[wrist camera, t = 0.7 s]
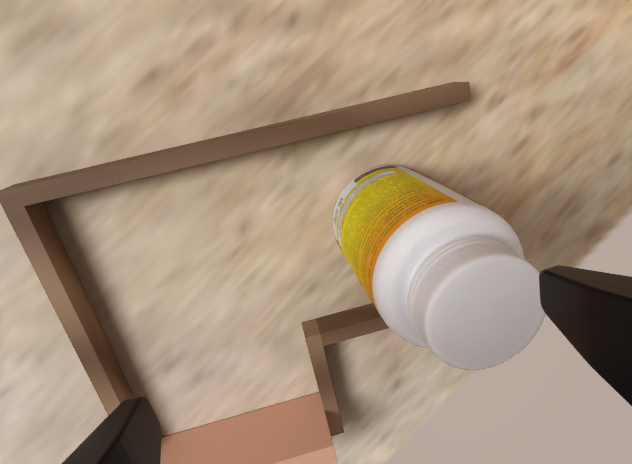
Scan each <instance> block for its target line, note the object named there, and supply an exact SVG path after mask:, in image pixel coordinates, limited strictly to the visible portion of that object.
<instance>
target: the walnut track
mask: <svg viewBox="0 0 632 464" xmlns="http://www.w3.org/2000/svg"><path fill="white" fill-rule="evenodd" d="M469 100H470V87H469V82H452V83H448V84H444V85H439V86H435V87H431V88H426V89H422V90H418V91H413V92H409V93H405V94H401V95H396V96H392V97H388V98H383V99H379V100H375V101H371V102H366V103H362V104H358V105H353V106H349V107H345V108H341V109H336V110H332V111H328V112H323V113H319V114H315V115H311V116H306V117H302V118H298V119H293V120H289V121H285V122H281V123H276V124H272V125H268V126H263V127H259V128H255V129H251V130H246V131H242V132H238V133H233V134H229V135H225V136H221V137H216V138H212V139H208V140H203V141H199V142H195V143H190V144H186V145H182V146H178V147H173V148H169V149H165V150H160V151H156V152H152V153H148V154H143V155H139V156H135V157H130V158H126V159H122V160H118V161H113V162H109V163H105V164H100V165H96V166H92V167H88V168H83V169H79V170H75V171H70V172H66V173H62V174H58V175H53V176H49V177H45V178H40V179H36V180H32V181H28V182H23V183H19V184H15V185H12V186H10V187H7V188H5V189H3V190H1V191H0V203H1V205H2V207H3V209H4V211H5V213H6V215H7V217H8V219H9V221H10V223H11V225H12V227H13V229H14V231H15V233H16V235H17V237H18V238H19V240H20V242H21V244H22V246H23V248H24V250H25V252H26V254H27V256H28V258H29V260H30V262H31V264H32V266H33V268H34V270H35V272H36V274H37V276H38V278H39V280H40V282H41V284H42V286H43V288H44V290H45V292H46V294H47V296H48V298H49V300H50V302H51V303H52V305H53V307H54V309H55V311H56V313H57V315H58V317H59V319H60V321H61V323H62V325H63V327H64V329H65V331H66V333H67V335H68V337H69V339H70V341H71V343H72V345H73V347H74V349H75V351H76V353H77V355H78V357H79V359H80V361H81V363H82V365H83V367H84V368H85V370H86V372H87V374H88V376H89V378H90V380H91V382H92V384H93V386H94V388H95V390H96V392H97V394H98V396H99V398H100V400H101V402H102V404H103V406H104V408H105V410H106V412H107V414H108V416H109V415H110V414H111V413H112V412H113V411H114V410H115V409H116V408H117V407H118V406H119V404H120V403H121V402H123V401H124V400H126V399H129V398H133V397H134V396H133V394H132V392H131V390H130V388H129V385H128V383H127V381H126V379H125V377H124V375H123V373H122V371H121V368H120V366H119V364H118V362H117V360H116V358H115V356H114V353H113V351H112V349H111V347H110V345H109V343H108V341H107V339H106V336H105V334H104V332H103V330H102V328H101V326H100V324H99V321H98V319H97V317H96V315H95V313H94V311H93V309H92V307H91V304H90V302H89V300H88V298H87V296H86V294H85V292H84V289H83V287H82V285H81V283H80V281H79V279H78V277H77V275H76V272H75V270H74V268H73V266H72V264H71V262H70V260H69V257H68V255H67V253H66V251H65V249H64V247H63V245H62V242H61V240H60V238H59V236H58V234H57V232H56V230H55V228H54V225H53V223H52V221H51V219H50V217H49V215H48V213H47V210H46V208H45V206H44V204H43V202H44V201H48V200H52V199H57V198H61V197H65V196H69V195H73V194H78V193H82V192H86V191H90V190H94V189H99V188H103V187H107V186H111V185H116V184H120V183H124V182H128V181H132V180H137V179H141V178H145V177H149V176H153V175H158V174H162V173H166V172H170V171H174V170H179V169H183V168H187V167H191V166H196V165H200V164H204V163H208V162H212V161H217V160H221V159H225V158H229V157H233V156H238V155H242V154H246V153H250V152H254V151H259V150H263V149H267V148H271V147H275V146H280V145H284V144H288V143H292V142H297V141H301V140H305V139H309V138H313V137H318V136H322V135H326V134H330V133H334V132H339V131H343V130H347V129H351V128H355V127H360V126H364V125H368V124H372V123H376V122H381V121H385V120H389V119H393V118H398V117H402V116H406V115H410V114H414V113H419V112H423V111H427V110H431V109H435V108H440V107H444V106H448V105H452V104H456V103H461V102H465V101H469ZM302 326H303V330H304V334H305V338H306V342H307V346H308V350H309V354H310V358H311V361H312V365H313V369H314V373H315V377H316V381H317V384H318V388H319V392H320V396H321V400H322V404H323V408H324V411H325V415H326V419H327V423H328V427H329V431H330V434H331V436H333V435H337V434H340V433H343V432H344V430H343V426H342V422H341V417H340V413H339V409H338V405H337V401H336V397H335V393H334V389H333V385H332V381H331V376H330V372H329V368H328V364H327V360H326V356H325V352H324V348H323V346H326V345H330V344H333V343H337V342H340V341H344V340H347V339H351V338H355V337H358V336H362V335H365V334H369V333H373V332H376V331H380V330H383V329H387V328H389V327H388V325H387V324H386V323H385V321H384V320H383V318H382V317H381V316H380V314H379V313H378V311H377V309H376V308H375V306H374V304H373V303H372V304H369V305H365V306H361V307H358V308H354V309H350V310H347V311H343V312H339V313H336V314H332V315H328V316H325V317H321V318H317V319H314V320H310V321H306V322H303V323H302Z"/></svg>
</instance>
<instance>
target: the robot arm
mask: <svg viewBox="0 0 632 464" xmlns="http://www.w3.org/2000/svg"><path fill="white" fill-rule="evenodd" d="M539 290H540V303H541V306H542V309H543V310H544V312H545V313H546V314H547V316H548V317H549V318H550V319H551V320H552V322H553V323H554V324H555V325H556V326H557V328H559V330H560V331H561V332H562V333H563V335H564V336H565V337H566V338H567V339H568V340H569V342H570V343H571V344H572V345H573V346H574V348H575V349H576V350H577V351H578V352H579V353H580V355H581V356H582V357H583V358H584V359H585V360H586V361H587V362H588V364H590V366H591V367H592V368H593V369H594V370H595V371H596V372H597V373H598V374H599V375H600V376H601V377H602V378H604V380H605V381H606V382H607V383H609V384H610V385H611V386H612V387H613V388H614V389H615V390H616V391H617V392H618V393H619V394H620V395H621V396H622V397H623V398H624V399H625V400H626V401H627V402H628V403H629V404H630V405H631V406H632V277H629V276H622V275H616V274H609V273H604V272H598V271H591V270H585V269H579V268H573V267H566V266H554V267H551V268H547V269H544V270H542V271H541V272H540V274H539ZM161 440H162V431H161V426H160V423H159V421H158V419H157V417H156V415H155V413H154V411H153V409H152V407H151V405H150V403H149V401H148V399H147V398H146V397H145V396H143V395H139V396H136V397H133V398H129V399H126V400H124V401H123V402H121V403H120V404H119V406H118V407H117V408H116V409H115V410H114V411H113V412H112V413H111V414H110V415H109V416H108V417H107V418H106V419H105V420H104V421H103V422H102V423H101V424H100V425H99V426H98V427H97V428H96V429H95V430H94V431H93V432H92V433H91V434H90V435H89V436H88V437H87V438H86V439H85V440H84V441H83V442H82V443H81V444H80V446H79V447H78V448H77V449H76V450H75V451H74V452H73V453H72V454H71V455H70V456H69V457H68V458H67V459H66V460H65V461H64V462H63V463H62V464H160V461H161Z"/></svg>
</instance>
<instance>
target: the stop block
mask: <svg viewBox="0 0 632 464" xmlns="http://www.w3.org/2000/svg"><path fill="white" fill-rule="evenodd" d="M160 464H338V463H337V459H336V455H335V451H334V447H333V442H332V438H331V434H330V431H329V427H328V423H327V419H326V415H325V411H324V408H323V404H322V400H321V396H320V392H318V393H315V394H311V395H308V396H304V397H301V398H297V399H294V400H291V401H287V402H284V403H280V404H277V405H273V406H270V407H266V408H263V409H259V410H256V411H252V412H249V413H245V414H242V415H238V416H235V417H231V418H228V419H224V420H221V421H217V422H214V423H210V424H207V425H204V426H200V427H197V428H193V429H190V430H186V431H183V432H179V433H176V434H172V435H169V436H165V437H162V440H161V461H160Z"/></svg>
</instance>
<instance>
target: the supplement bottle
mask: <svg viewBox="0 0 632 464" xmlns="http://www.w3.org/2000/svg"><path fill="white" fill-rule="evenodd" d="M333 229H334V234H335V238H336V240H337V243H338V245H339V247H340V249H341V251H342V252H343V254H344V256H345V257H346V259H347V261H348V262H349V264H350V266H351V267H352V269H353V271H354V273H355V274H356V276H357V277H358V279H359V281H360V283H361V284H362V286H363V287H364V289H365V291H366V292H367V294H368V296H369V297H370V299H371V301H372V303H373V304H374V306H375V308H376V309H377V311H378V313H379V314H380V316H381V317H382V318H383V320H384V321H385V323H386V324H387V325H388V327H389V328H390V329H391V330H392V331H393V332H394V333H395V334H396V335H398V336H399V337H401V338H402V339H404V340H406V341H408V342H410V343H412V344H414V345H418V346H421V347H426V348H430V349H431V350H432V352H433V353H434V354H435V355H436V356H437V357H438V358H439V359H441V360H442V361H443V362H445V363H447V364H448V365H451V366H453V367H456V368H459V369H465V370H479V369H486V368H490V367H493V366H496V365H498V364H501V363H503V362H505V361H507V360H508V359H510V358H512V357H514V356H515V355H516V354H518V353H519V352H520V351H521V350H523V349H524V348H525V347H526V346H527V344H529V342H530V341H531V340H532V339H533V337H534V336H535V334H536V333H537V331H538V330H539V328H540V326H541V324H542V322H543V319H544V316H545V312H544V310H543V309H542V306H541V303H540V290H539V274H540V273H539V272H538V271H537V270H536V268H535V267H534V266H533V265H531V264H530V263H529V262H528V261H526V260H525V259H524V254H523V249H522V246H521V243H520V241H519V239H518V237H517V235H516V233H515V232H514V230H513V229H512V227H511V226H510V225H509V224H508V223H507V221H505V220H504V219H503V218H502V217H501V216H499V215H498V214H496V213H495V212H493V211H492V210H490V209H488V208H486V207H484V206H482V205H480V204H478V203H477V202H475V201H473V200H471V199H469V198H467V197H465V196H463V195H461V194H459V193H457V192H455V191H453V190H451V189H449V188H447V187H445V186H444V185H442V184H439V183H437V182H435V181H433V180H431V179H429V178H427V177H425V176H423V175H421V174H419V173H417V172H415V171H413V170H410V169H408V168H405V167H401V166H394V165H387V166H379V167H375V168H372V169H369V170H367V171H365V172H363V173H361V174H359V175H358V176H356V177H355V178H354V179H353V180H352V181H351V182H349V184H348V185H347V186H346V187H345V188H344V190H343V191H342V193H341V194H340V196H339V198H338V200H337V203H336V205H335V209H334V214H333Z"/></svg>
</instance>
